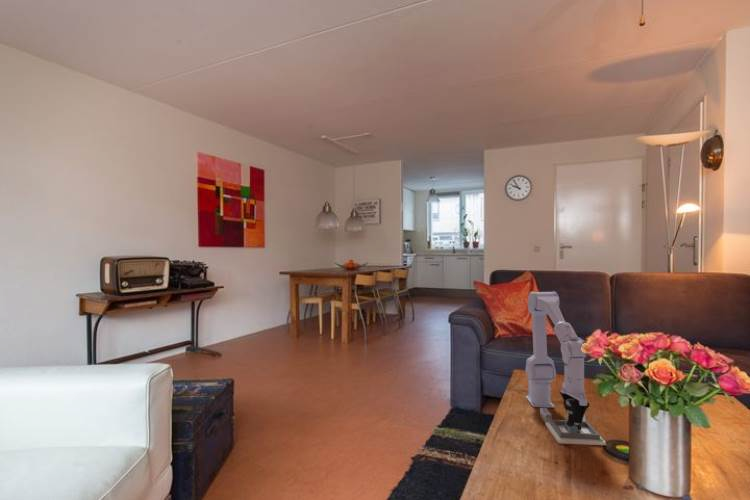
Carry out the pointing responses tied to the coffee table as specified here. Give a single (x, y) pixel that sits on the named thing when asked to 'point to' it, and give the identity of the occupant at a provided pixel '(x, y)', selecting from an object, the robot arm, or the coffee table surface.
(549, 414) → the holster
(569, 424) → the push button
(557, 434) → the port dock
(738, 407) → the coffee table surface
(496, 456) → the coffee table surface
